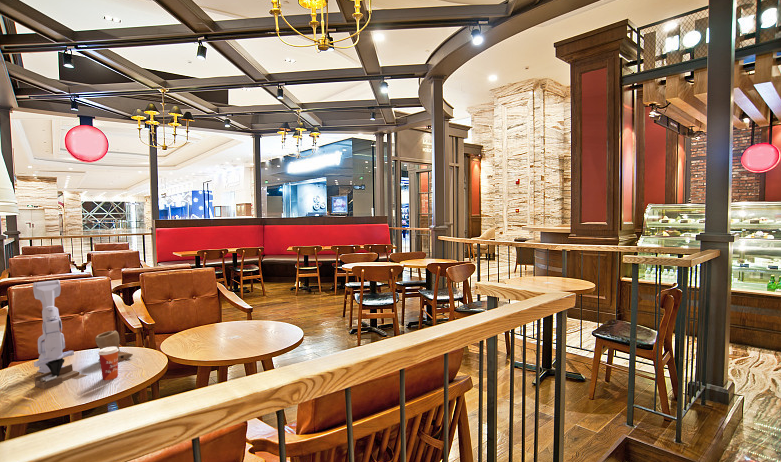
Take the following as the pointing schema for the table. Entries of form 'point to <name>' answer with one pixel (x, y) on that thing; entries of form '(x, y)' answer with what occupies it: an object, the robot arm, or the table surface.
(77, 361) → the table surface
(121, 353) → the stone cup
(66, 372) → the walnut cabinet
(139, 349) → the table surface
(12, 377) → the table surface
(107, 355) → the paper cup
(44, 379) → the steel cube
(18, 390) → the table surface
